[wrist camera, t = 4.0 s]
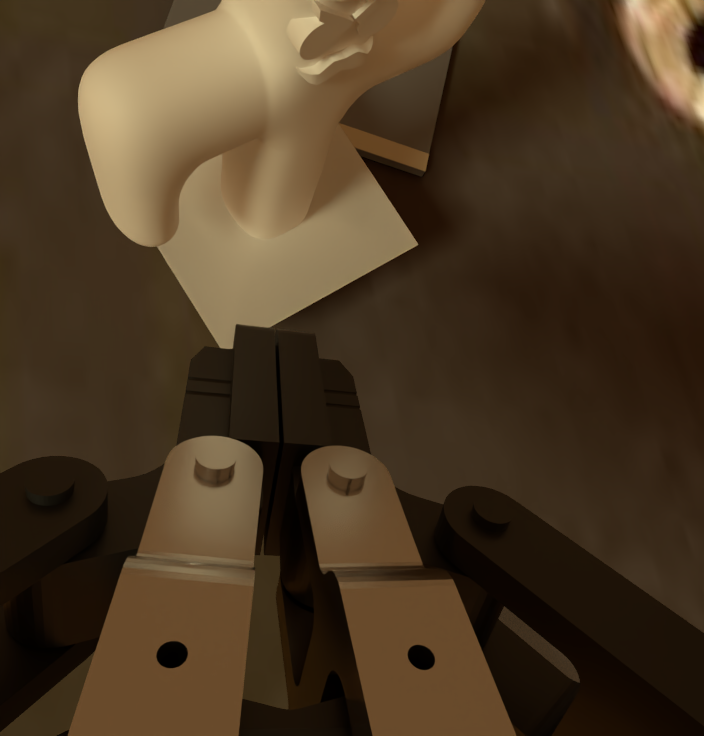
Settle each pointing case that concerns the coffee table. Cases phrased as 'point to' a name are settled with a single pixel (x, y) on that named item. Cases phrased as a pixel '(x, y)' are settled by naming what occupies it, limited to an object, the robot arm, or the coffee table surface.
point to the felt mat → (377, 106)
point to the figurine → (257, 146)
